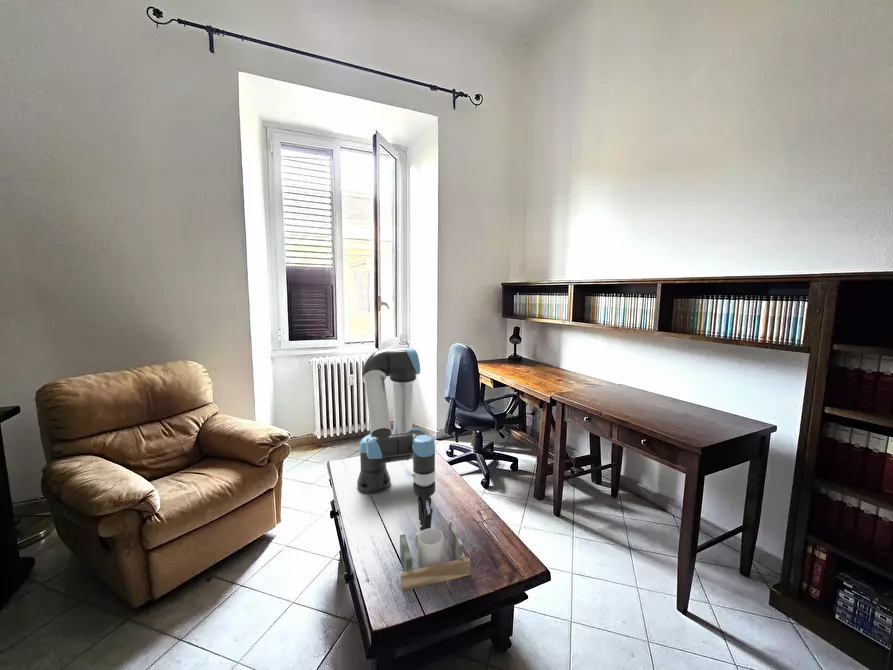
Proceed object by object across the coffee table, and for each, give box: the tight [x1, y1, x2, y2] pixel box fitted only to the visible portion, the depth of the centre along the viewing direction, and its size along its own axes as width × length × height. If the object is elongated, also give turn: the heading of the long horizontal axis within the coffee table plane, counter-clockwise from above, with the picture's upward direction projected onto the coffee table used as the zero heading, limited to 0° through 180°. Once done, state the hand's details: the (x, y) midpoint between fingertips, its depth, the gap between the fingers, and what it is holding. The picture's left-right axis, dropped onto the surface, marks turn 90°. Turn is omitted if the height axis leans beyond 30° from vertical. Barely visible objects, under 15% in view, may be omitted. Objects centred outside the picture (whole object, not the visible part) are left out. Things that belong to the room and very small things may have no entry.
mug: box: [414, 527, 444, 569], centre depth 121 cm, size 12×8×10 cm
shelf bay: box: [399, 521, 471, 592], centre depth 118 cm, size 13×23×10 cm, turn 107°
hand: (425, 543), depth 128 cm, fingers closed
